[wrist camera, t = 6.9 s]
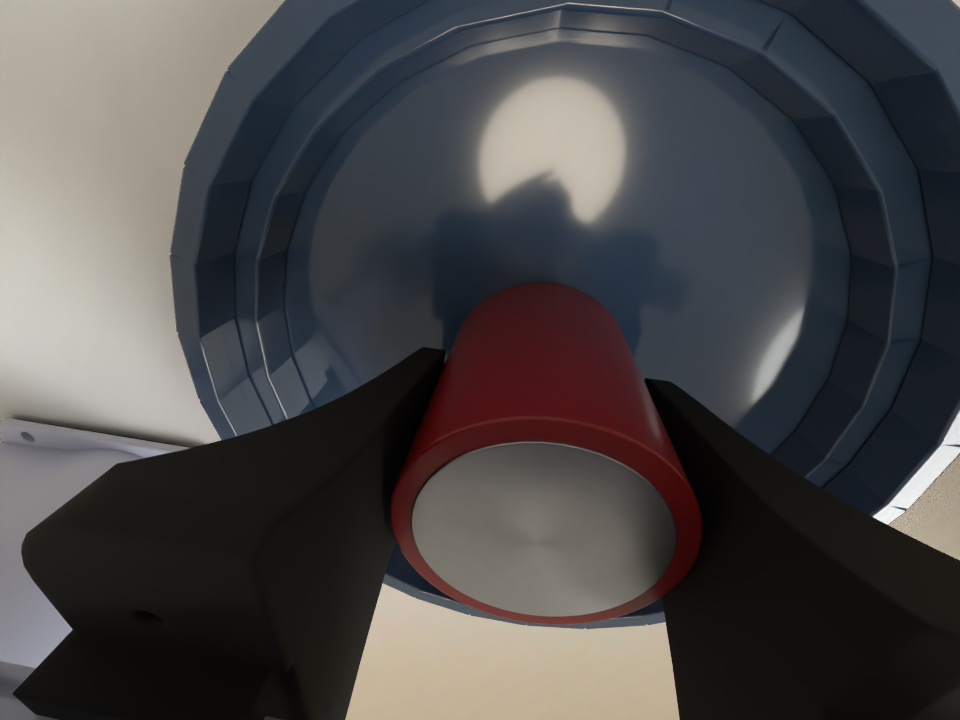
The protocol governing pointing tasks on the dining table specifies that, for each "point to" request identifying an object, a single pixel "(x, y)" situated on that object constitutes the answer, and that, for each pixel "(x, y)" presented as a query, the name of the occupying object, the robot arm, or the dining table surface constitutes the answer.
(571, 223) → the dark blue round plate
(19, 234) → the dining table surface
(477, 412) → the can
